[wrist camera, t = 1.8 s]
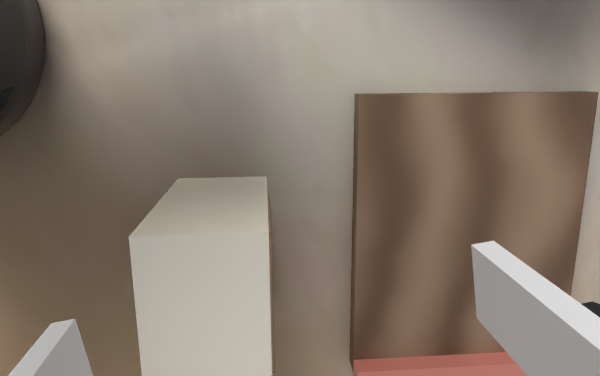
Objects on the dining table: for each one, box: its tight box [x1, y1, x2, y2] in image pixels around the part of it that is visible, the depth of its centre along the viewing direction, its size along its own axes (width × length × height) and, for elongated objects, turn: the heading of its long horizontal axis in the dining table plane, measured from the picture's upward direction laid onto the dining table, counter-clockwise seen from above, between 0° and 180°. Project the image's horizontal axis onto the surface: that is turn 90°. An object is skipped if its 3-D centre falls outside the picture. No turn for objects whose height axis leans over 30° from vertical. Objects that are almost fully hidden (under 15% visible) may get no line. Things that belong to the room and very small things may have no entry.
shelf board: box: [350, 92, 598, 369], centre depth 33 cm, size 16×20×2 cm
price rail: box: [353, 352, 527, 376], centre depth 34 cm, size 16×1×2 cm, turn 91°
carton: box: [129, 176, 275, 376], centre depth 27 cm, size 6×9×12 cm
